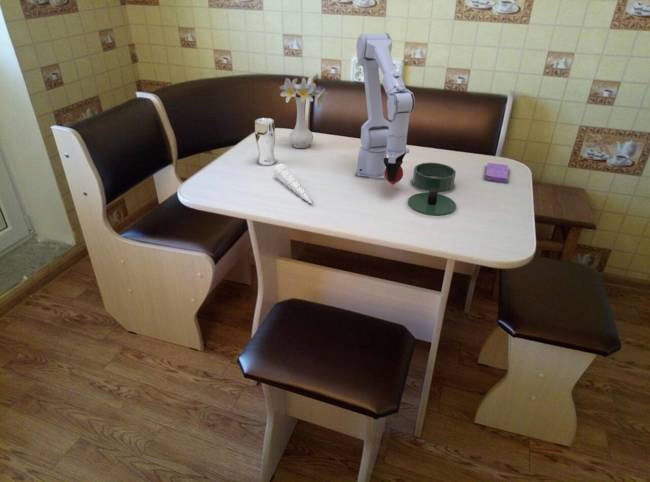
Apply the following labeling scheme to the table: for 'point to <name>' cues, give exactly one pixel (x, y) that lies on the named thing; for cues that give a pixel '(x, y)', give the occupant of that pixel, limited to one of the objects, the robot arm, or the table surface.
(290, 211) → the table surface
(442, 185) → the pot
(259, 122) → the beer glass
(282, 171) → the unicorn horn
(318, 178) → the table surface
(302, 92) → the flower vase
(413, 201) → the lid
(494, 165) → the sponge
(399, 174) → the onion
